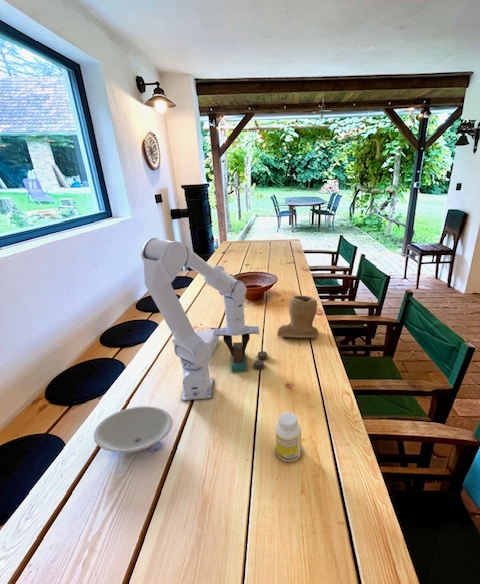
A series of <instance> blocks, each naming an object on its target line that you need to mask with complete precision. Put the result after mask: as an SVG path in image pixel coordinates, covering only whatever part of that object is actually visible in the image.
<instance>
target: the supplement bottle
mask: <svg viewBox="0 0 480 584" xmlns="http://www.w3.org/2000/svg"><path fill="white" fill-rule="evenodd" d="M300 425H301V424H299V423H298V416H297V415H296V414H295V413H293V412H288V411H287V412H286V411H285V412H282V413H281V414H280V415H279V416H278V423H277V424H276V427H275V439H276V440H275V443H276V453H277V457H279V459H281V460H282V461H285V462H294V461H296V460H297V459H299V458H300V457H301V454H302V427H301V426H300Z"/></svg>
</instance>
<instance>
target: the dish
mask: <svg viewBox="0 0 480 584" xmlns="http://www.w3.org/2000/svg"><path fill="white" fill-rule="evenodd" d="M172 428H173V418H172V416H171V415H170V412H168V411H166V410H164V409H162V408H160V407H156V406H148V405H147V406H145V405H144V406H142V405H141V406H133V407H129V408H125V409H122V410H119V411H117V412H114V413H111V415H109V416H107V417H105V418H104V419H103V420H102V421H101V422H100V423H99V424H98V425H97V426H96V428H95V430H94V433H93V440H94V442H95V444H96V445H97V446H98V447H99V448H101V449H103V450H105V451H108V452H112V453H125V454H126V453H127V454H129V453H137V452H141V451H144V450H146V449H148V448H151V447H152V446H154V445H155V444H157V443H159V442H161V441H162V440H163V439H164V438H165V437H166V436H167V435H168V434H169V433H170V432H171V430H172Z"/></svg>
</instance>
